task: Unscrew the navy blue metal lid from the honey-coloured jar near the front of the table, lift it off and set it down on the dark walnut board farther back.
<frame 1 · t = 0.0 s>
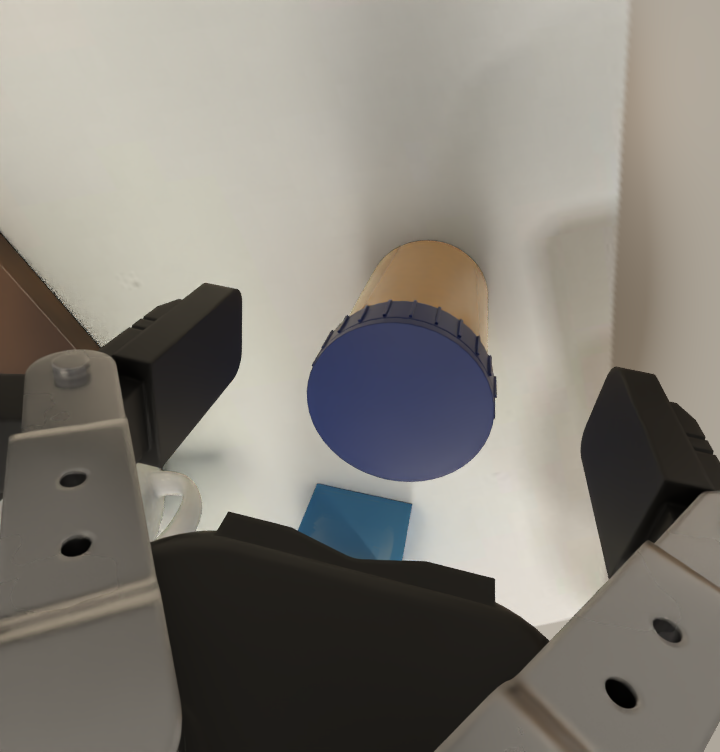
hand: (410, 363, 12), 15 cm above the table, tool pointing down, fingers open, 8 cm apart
mug: (135, 463, 38), on the table
jar: (426, 299, 27), on the table
perfume bottle: (360, 525, 36), on the table
jar lid: (398, 402, 19), point 10 cm above the table, screwed on, not yet turned
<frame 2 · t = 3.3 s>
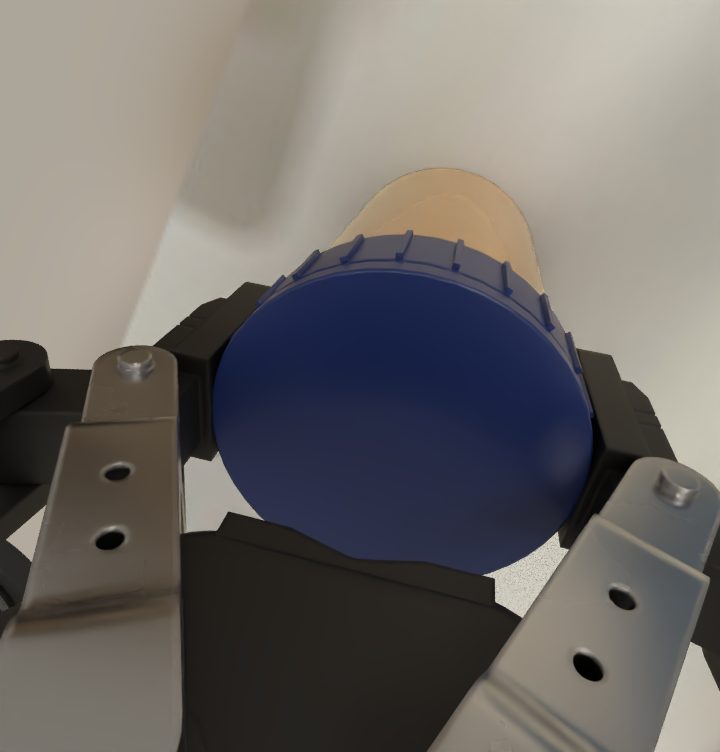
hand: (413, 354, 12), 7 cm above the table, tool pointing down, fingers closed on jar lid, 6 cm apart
jar: (437, 264, 18), on the table
jar lid: (392, 438, 10), point 10 cm above the table, screwed on, not yet turned, touching gripper
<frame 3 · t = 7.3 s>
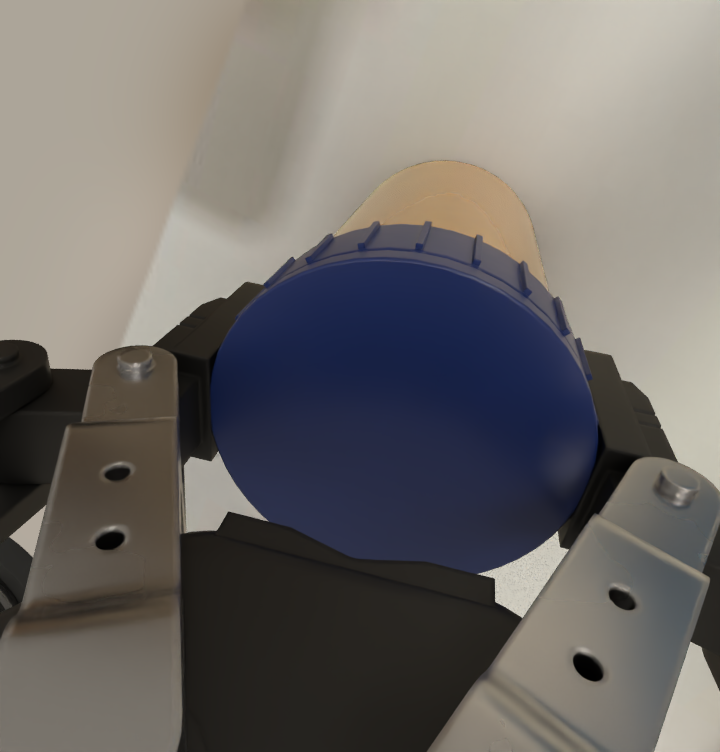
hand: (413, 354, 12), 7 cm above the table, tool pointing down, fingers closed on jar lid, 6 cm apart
jar: (439, 257, 18), on the table
jar lid: (393, 432, 9), point 10 cm above the table, turned 85° so far, risen 0.1 cm, still on its thread, touching gripper
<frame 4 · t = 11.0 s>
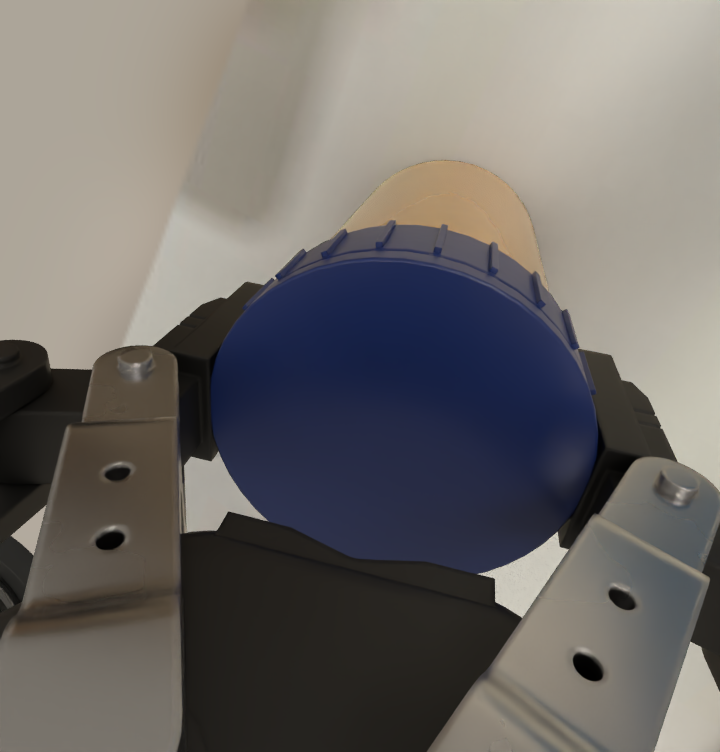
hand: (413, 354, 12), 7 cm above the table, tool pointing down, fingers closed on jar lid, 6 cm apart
jar: (440, 256, 18), on the table
jar lid: (393, 433, 9), point 10 cm above the table, turned 170° so far, risen 0.2 cm, still on its thread, touching gripper
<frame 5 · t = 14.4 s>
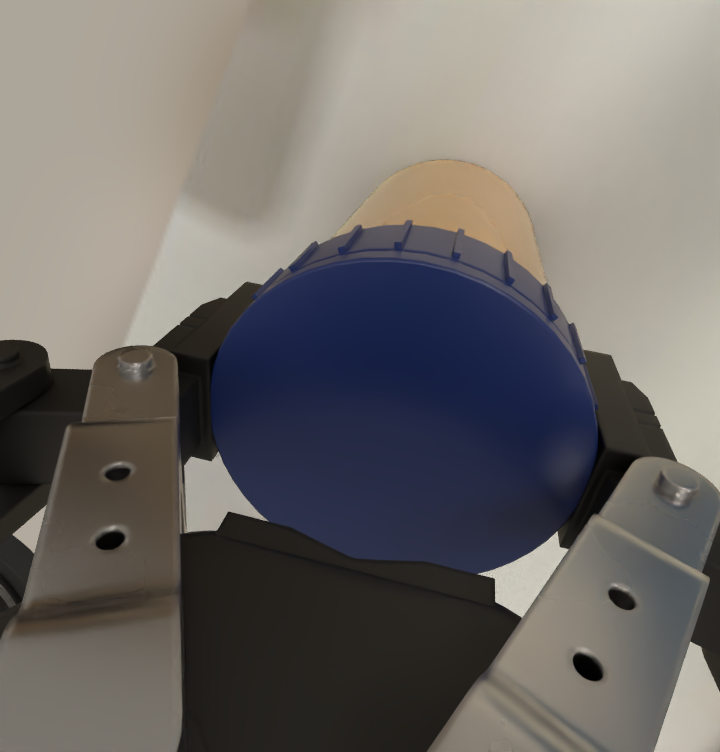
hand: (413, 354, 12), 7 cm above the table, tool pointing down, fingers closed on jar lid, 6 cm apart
jar: (440, 255, 18), on the table
jar lid: (393, 433, 9), point 10 cm above the table, turned 256° so far, risen 0.3 cm, still on its thread, touching gripper
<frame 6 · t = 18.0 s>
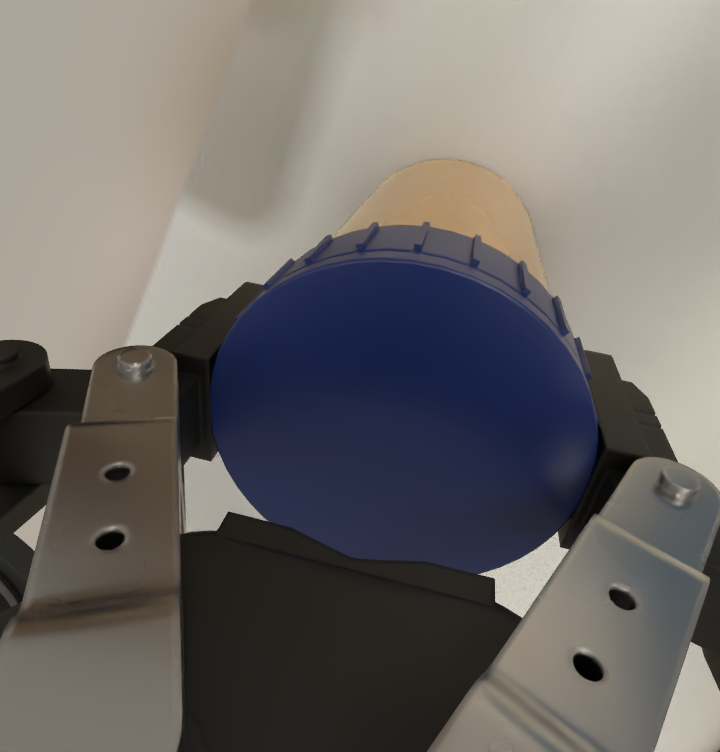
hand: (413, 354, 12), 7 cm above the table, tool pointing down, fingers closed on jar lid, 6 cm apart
jar: (440, 254, 18), on the table
jar lid: (393, 433, 9), point 10 cm above the table, turned 341° so far, risen 0.5 cm, still on its thread, touching gripper
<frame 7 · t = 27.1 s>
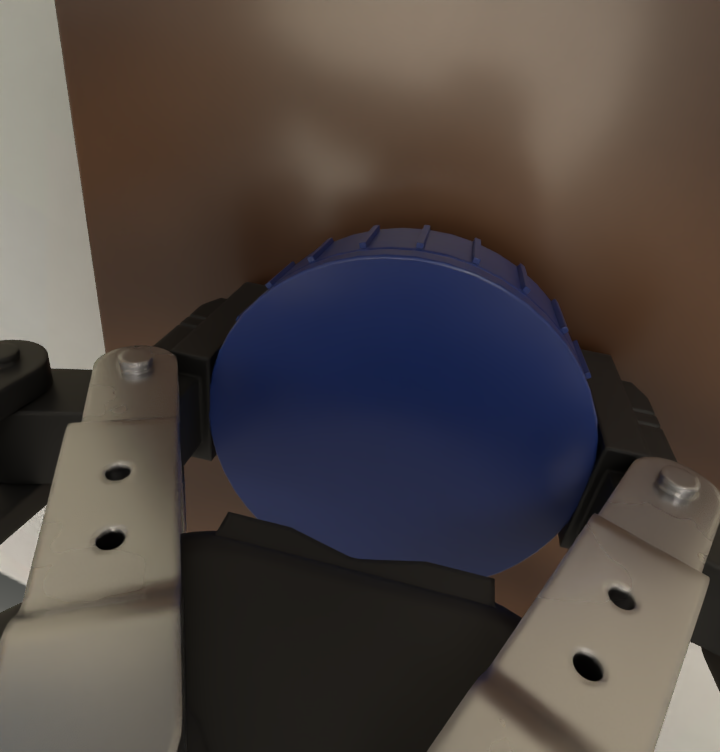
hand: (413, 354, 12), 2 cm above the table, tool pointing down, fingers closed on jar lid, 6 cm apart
board: (422, 323, 14), on the table
jar lid: (393, 434, 9), point 5 cm above the table, off its thread, touching gripper
when the fingers open (3 cm above the table, at t = 38.2 s): jar lid drops 3 cm, resting on board.
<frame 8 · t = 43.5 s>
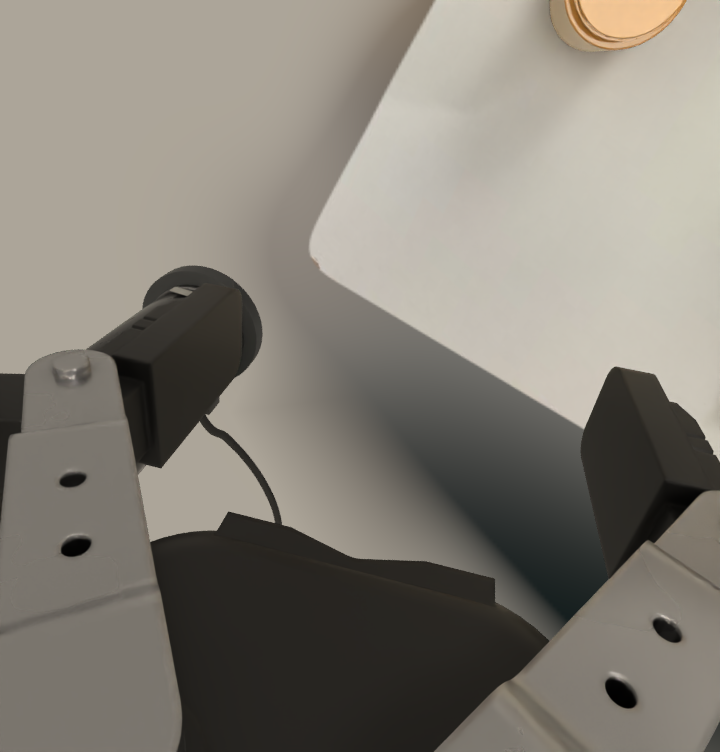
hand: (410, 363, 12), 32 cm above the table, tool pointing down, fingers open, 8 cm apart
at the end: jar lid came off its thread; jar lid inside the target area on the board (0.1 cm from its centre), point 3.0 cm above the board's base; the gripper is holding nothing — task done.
